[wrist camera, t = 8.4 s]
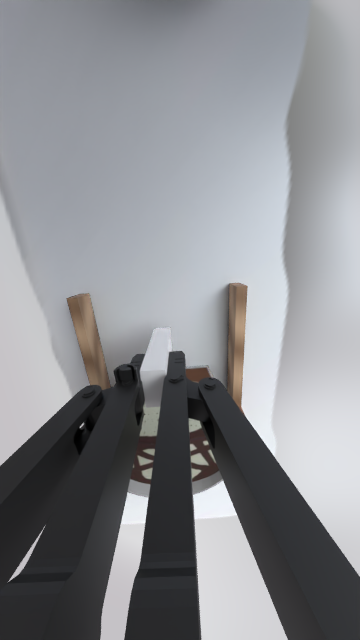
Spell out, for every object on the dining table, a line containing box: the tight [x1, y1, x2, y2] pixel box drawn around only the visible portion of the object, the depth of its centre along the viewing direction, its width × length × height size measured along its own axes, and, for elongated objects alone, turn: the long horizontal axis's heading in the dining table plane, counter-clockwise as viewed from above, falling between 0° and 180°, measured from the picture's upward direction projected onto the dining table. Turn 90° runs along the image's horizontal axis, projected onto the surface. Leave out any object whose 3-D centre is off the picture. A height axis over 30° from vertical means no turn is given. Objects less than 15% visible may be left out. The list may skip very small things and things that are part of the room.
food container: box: [128, 366, 223, 497], centre depth 18 cm, size 12×6×10 cm, turn 94°
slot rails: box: [67, 283, 247, 414], centre depth 21 cm, size 27×17×4 cm, turn 4°
